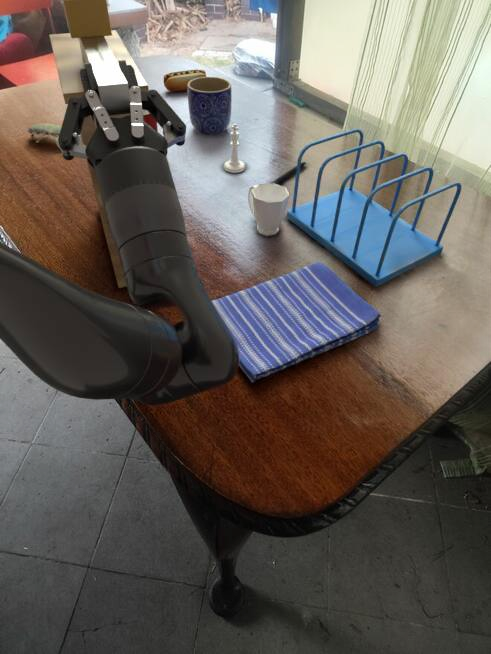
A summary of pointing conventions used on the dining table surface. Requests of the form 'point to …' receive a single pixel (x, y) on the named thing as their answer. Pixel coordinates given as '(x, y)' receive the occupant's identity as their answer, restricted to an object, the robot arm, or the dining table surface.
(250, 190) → the cup
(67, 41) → the stand
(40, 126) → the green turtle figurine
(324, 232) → the file sorter
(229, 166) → the chess piece
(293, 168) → the pen
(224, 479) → the dining table surface
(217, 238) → the dining table surface
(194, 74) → the hot dog
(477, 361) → the dining table surface
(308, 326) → the dish towel
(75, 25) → the mallet
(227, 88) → the planter
